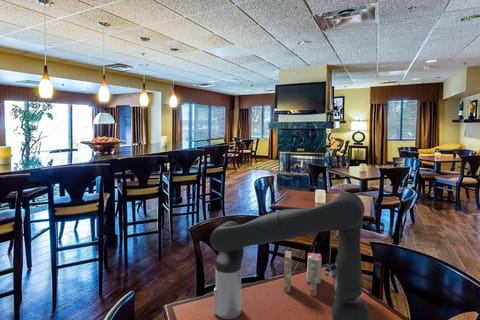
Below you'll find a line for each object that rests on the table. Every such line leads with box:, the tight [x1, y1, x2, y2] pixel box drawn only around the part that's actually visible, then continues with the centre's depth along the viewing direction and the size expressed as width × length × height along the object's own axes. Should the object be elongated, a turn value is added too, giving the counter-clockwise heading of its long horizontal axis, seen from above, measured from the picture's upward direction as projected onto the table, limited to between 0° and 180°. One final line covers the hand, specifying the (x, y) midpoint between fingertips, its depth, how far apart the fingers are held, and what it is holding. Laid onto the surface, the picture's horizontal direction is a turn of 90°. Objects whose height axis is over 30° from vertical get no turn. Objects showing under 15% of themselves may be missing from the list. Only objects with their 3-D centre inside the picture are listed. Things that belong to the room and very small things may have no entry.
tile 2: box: [309, 252, 319, 297], centre depth 123 cm, size 2×6×15 cm, turn 166°
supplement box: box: [306, 252, 323, 285], centre depth 132 cm, size 6×6×12 cm
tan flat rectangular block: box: [283, 250, 293, 293], centre depth 126 cm, size 2×6×15 cm, turn 166°
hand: (341, 262), depth 123 cm, fingers closed on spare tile, 2 cm apart
